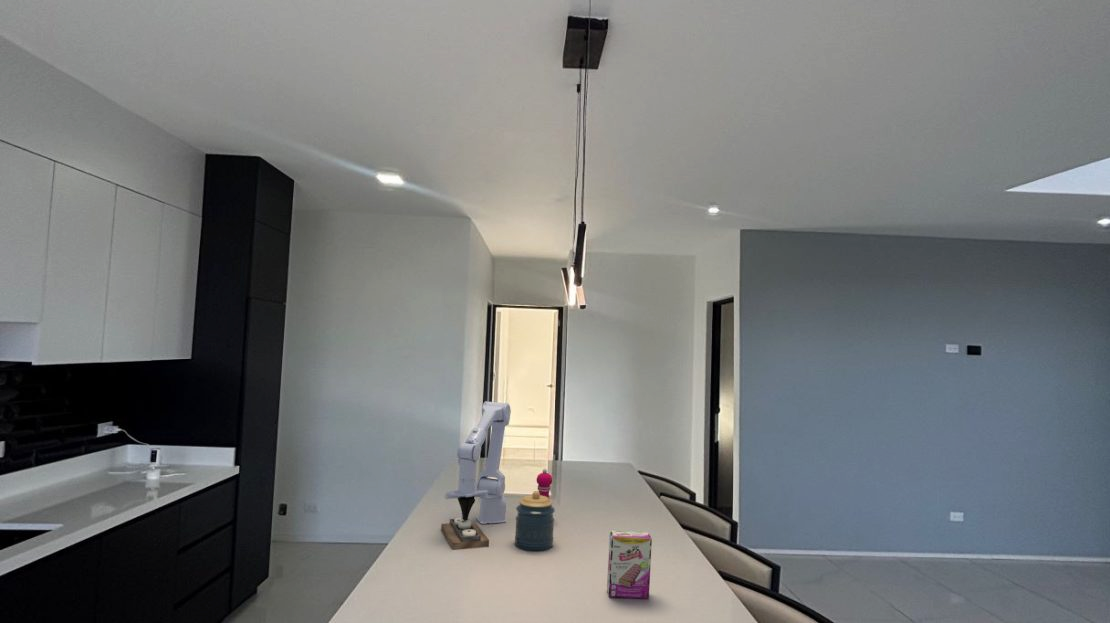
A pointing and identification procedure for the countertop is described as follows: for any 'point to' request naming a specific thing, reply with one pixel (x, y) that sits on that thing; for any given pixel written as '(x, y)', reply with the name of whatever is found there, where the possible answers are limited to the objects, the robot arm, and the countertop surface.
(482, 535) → the button panel
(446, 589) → the countertop surface
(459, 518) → the button two
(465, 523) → the button three
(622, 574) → the candy bar box
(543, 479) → the pepper mill
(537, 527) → the canister
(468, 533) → the button one
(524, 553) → the countertop surface
